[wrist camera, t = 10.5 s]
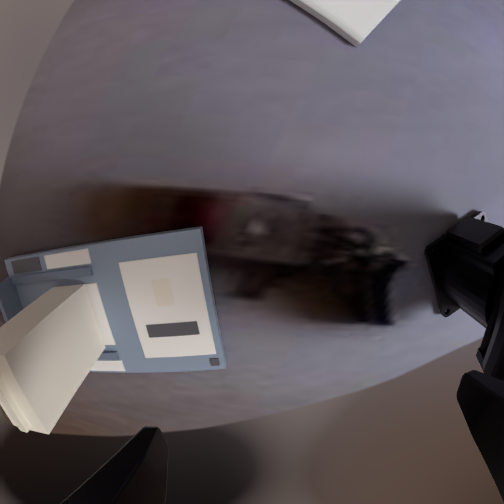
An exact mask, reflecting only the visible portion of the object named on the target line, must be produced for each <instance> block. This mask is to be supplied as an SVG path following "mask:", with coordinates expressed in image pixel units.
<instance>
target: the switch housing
mask: <svg viewBox="0 0 504 504" xmlns="http://www.w3.org/2000/svg"><path fill="white" fill-rule="evenodd" d="M4 261H5V265H6V269H7V272H8V276H9V277H7V278H6V279H5V280H3V281H1V282H0V309H1V312H2V315H3V318H4V320H5V323H6V322H8V321H9V320H10V319H11V318H13V317H14V316H15V315H16V314H18V313H19V312H20V311H22V310H23V309H24V308H26V307H27V306H28V305H29V304H31V303H32V302H33V301H35V300H36V299H37V298H39V297H40V296H41V295H43V294H44V293H46V292H47V291H48V290H50V289H51V288H52V287H60V286H70V285H80V284H85V286H86V289H87V293H88V296H89V300H90V303H91V306H92V309H93V313H94V316H95V319H96V322H97V325H98V328H99V331H100V333H101V336H102V339H103V342H104V345H105V347H106V348H105V349H104V351H103V352H102V353H101V355H100V356H99V358H98V359H97V361H96V362H95V364H94V365H93V367H92V368H91V370H90V371H89V372H119V373H145V372H181V371H200V370H215V369H226V357H225V352H224V347H223V342H222V337H221V332H220V327H219V322H218V316H217V311H216V305H215V300H214V294H213V289H212V283H211V277H210V271H209V265H208V259H207V253H206V247H205V241H204V235H203V228H202V226H200V227H193V228H185V229H178V230H171V231H164V232H157V233H151V234H144V235H137V236H131V237H124V238H118V239H111V240H105V241H99V242H93V243H87V244H81V245H75V246H69V247H63V248H58V249H52V250H46V251H41V252H35V253H30V254H24V255H19V256H14V257H9V258H7V259H5V260H4ZM210 358H219V362H220V365H219V366H211V362H210Z"/></svg>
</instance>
